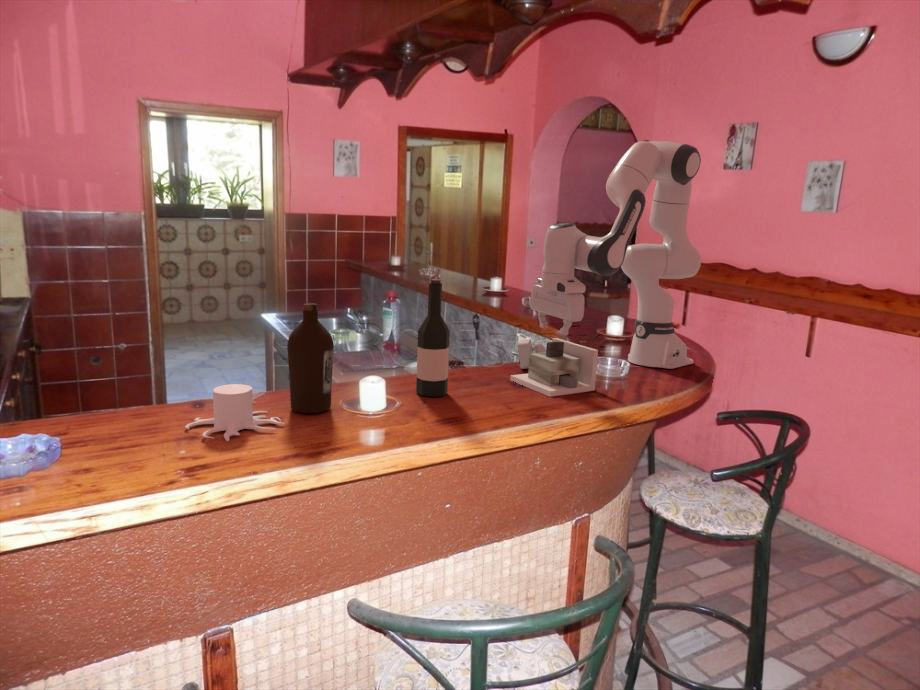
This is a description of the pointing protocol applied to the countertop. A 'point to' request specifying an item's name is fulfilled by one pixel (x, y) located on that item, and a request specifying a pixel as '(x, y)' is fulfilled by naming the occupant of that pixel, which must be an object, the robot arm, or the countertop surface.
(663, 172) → the robot arm
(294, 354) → the olive oil
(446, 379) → the wine bottle
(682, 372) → the countertop surface
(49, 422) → the countertop surface
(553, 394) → the board
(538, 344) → the white block with rod
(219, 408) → the tree stump
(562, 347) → the cabinet block
